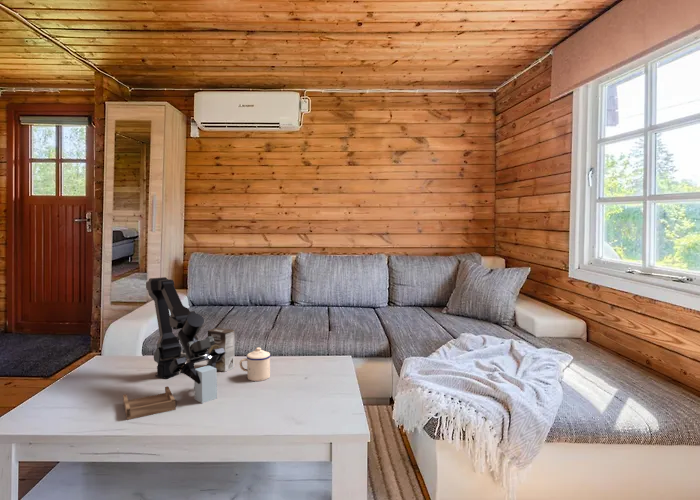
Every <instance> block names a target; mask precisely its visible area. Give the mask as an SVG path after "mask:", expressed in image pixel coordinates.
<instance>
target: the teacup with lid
mask: <svg viewBox="0 0 700 500" xmlns="http://www.w3.org/2000/svg"><path fill="white" fill-rule="evenodd" d="M239 361H240V362H239V367H240V369H241V371H243V372H247V375H246V377H247V379H248V380H249V381H252V382H261V381H265V380H268V379H270V376H271V353H270V352H269V351H266V350H264V349H262V348H261V347H256V348H255V349H254V350H253V351H251V352H249V353H247V355H246V358H242V359H241V360H239ZM245 361H246V363H247V365H246V367H247V368H245V367H244V366H243V362H245Z"/></svg>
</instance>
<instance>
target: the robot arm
mask: <svg viewBox="0 0 700 500" xmlns="http://www.w3.org/2000/svg"><path fill="white" fill-rule="evenodd" d="M145 288H146V290H147V292H148V296H149V297H150V298H151V299H152V300H153V302H154V309H155V314H156V321H157V327H158V332H159V338H158V340H157V343H156V349H155V352H154V353H153V360H154V362H155V363H157V366H156V370H157V371H156V373H157V374H155V375H154V376H155V377H158V378H161V379H165V380H167V379H170V378H173V377H175V376H178V375H180V374H184V375H185V376H187V377H189V378H190V379H191V380H193V382H194V381H195V382H197V383H198V384H200V383H201V381H200V378H199V376H198V374H197V372H196V370H195V369H196V368H195V364H196V363H200V362H204V361H206V365H205V366H208V365H210V366H212V367H214V368H216V362H218V361H220V360H221V359H222V357H223V356H224V354H225V353H226V352H225V350H224V348H222V347H219V348H215V349H212V351H211V352H210V354H208V348H211V346H212V345H214V344H215V341H214V338H213V337H212V336H209V337H208V336H206V337H205V339H199V338H198V336H197V335H198V334H199V333H200V331H201V329H202V327H203V326H204V324H205V318H204V317H203V316H202V315H201V314H199V313H197V312H196V311H195V310H193V311H192V310H191V311H190V309H189V308H188V307H186V306H184V305H183V303H182V301H181V298H180V296H179V294H178V291H177V290H176V287H175V282H174V280H173V279H171V278H167V277H165V276H164V277H163V276H162V277H161V276H160V277H152V278H149V279H148V280H147V281H146V283H145ZM173 330H175V331H176V330H178V333H177V336H176V335H175V334H174V333H173ZM182 348H183V349H182ZM182 351H183V354H184V353H186V355H187V359H186V357H185V356H182V357H180V356H181V352H182ZM206 353H207V354H206Z"/></svg>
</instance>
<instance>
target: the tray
mask: <svg viewBox="0 0 700 500" xmlns="http://www.w3.org/2000/svg"><path fill="white" fill-rule="evenodd" d="M128 398H129V397H128V395H127V393H125V394H123V395H122V404H123V408H124V409H123V410H124V412H125V416H126V417H125V418H126V420H127V421H128V420H129V421H130V420H134V419H138V418H142V417H147V416H152V415H153V416H154V415H157V414H161V413H166V412H170V411H176V409H177V404H176V399H175V396H174V395H173V393H172V391H171V389H170V387H169V386H165V387H164V393H158V394H154V395H147V396H142V397H137V398H133V399H132V398H131V399H128Z"/></svg>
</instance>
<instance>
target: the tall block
mask: <svg viewBox="0 0 700 500" xmlns="http://www.w3.org/2000/svg"><path fill="white" fill-rule="evenodd" d="M195 370H196V372H197V374H198V376H199V378H200V381H201V383H200V384H198V383H197V382H195V381H194V380H193V382H194V383H193V386H194V400H196V401H197V402H199V403H200V404H204V403H208V402H210V401H214V400H216V399H218V384H217V383H218V382H217V381H218V379H217V378H218V377H217V376H218V374H217V372H218V370H217V368H214V367H212V366H210V365H208V366H206V365H205V366H201V367H197V368H195Z"/></svg>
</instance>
